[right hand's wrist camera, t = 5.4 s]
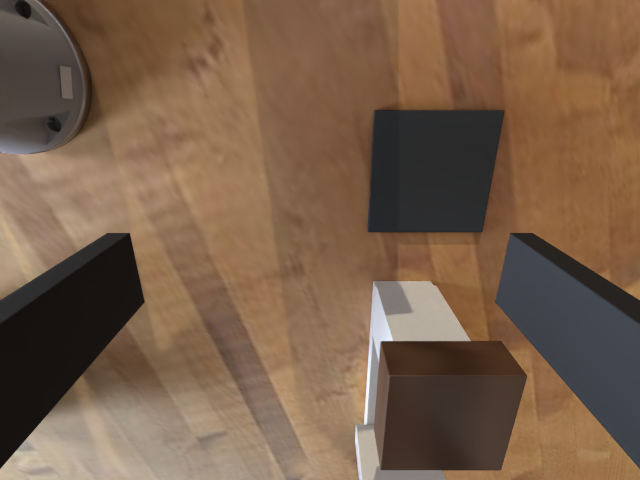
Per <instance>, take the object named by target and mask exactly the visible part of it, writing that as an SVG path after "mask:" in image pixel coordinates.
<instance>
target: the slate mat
mask: <svg viewBox="0 0 640 480" xmlns="http://www.w3.org/2000/svg"><path fill="white" fill-rule="evenodd" d="M503 116H504V111H374V127H373V146H372V164H371V182H370V201H369V219H368V232H482V230H483V225H484V219H485V214H486V208H487V203H488V197H489V192H490V187H491V181H492V176H493V170H494V165H495V159H496V154H497V148H498V143H499V138H500V132H501V127H502V121H503Z"/></svg>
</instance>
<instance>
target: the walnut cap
mask: <svg viewBox="0 0 640 480" xmlns="http://www.w3.org/2000/svg"><path fill="white" fill-rule="evenodd" d="M526 379H527V375H526V374H525V372H524V371H523V370H522V368H521V367H520V366H519V364H518V363H517V362H516V360H515V359H514V358H513V356H512V355H511V354H510V352H509V351H508V350H507V348H506V347H505V346H504V344H503V343H502V342H501V341H381V342H380V355H379V368H378V381H377V394H376V406H375V419H374V433H375V439H376V446H377V452H378V458H379V464H380V469H381V470H501V468H502V465H503V461H504V458H505V454H506V450H507V447H508V443H509V440H510V436H511V432H512V429H513V425H514V422H515V418H516V415H517V411H518V407H519V404H520V400H521V397H522V393H523V389H524V386H525V382H526Z"/></svg>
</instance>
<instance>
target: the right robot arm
mask: <svg viewBox="0 0 640 480" xmlns="http://www.w3.org/2000/svg"><path fill="white" fill-rule="evenodd" d="M90 102H91V81H90V75H89V70H88V67H87V63H86V60H85V57H84V55H83V52H82V50H81V48H80V46H79V44H78V42H77V40H76V38H75V37H74V35H73V34H72V32H71V30H70V29H69V28H68V26H67V25H66V24H65V22H64V21H63V20H62V19H61V18H60V16H59V15H58V14H57V13H56V12H55V11H54V10H53V9H52V8H51V7H50V6H49V5H47V4H46V3H45V2H44V1H43V0H0V152H2V153H9V154H34V153H40V152H45V151H50V150H53V149H56V148H59V147H61V146H63V145H64V144H66V143H68V142H69V141H70V140H72V139H73V138H74V137H75V136H76V135H77V133H78V132H79V131H80V129H81V128H82V126H83V125H84V123H85V120H86V118H87V115H88V112H89V108H90ZM143 303H144V297H143V293H142V288H141V283H140V279H139V274H138V270H137V265H136V260H135V256H134V251H133V246H132V242H131V237H130V233H107V234H105V235H104V236H102V237H100V238H99V239H97V240H96V241H94V242H93V243H91V244H89V245H88V246H86V247H85V248H83V249H81V250H80V251H78V252H77V253H75V254H73V255H72V256H70V257H69V258H67V259H65V260H64V261H62V262H61V263H59V264H58V265H56V266H54V267H53V268H51V269H50V270H48V271H46V272H45V273H43V274H42V275H40V276H38V277H37V278H35V279H34V280H32V281H31V282H29V283H27V284H26V285H24V286H23V287H21V288H19V289H18V290H16V291H15V292H13V293H11V294H10V295H8V296H7V297H5V298H3V299H2V300H0V468H1V467H2V466H3V465H4V464H5V463H6V462H7V460H8V459H9V458H10V457H11V456H12V455H13V453H14V452H15V451H16V450H17V449H18V448H19V447H20V445H21V444H22V443H23V442H24V441H25V440H26V438H27V437H28V436H29V435H30V434H31V433H32V431H33V430H34V429H35V428H36V427H37V426H38V425H39V423H40V422H41V421H42V420H43V419H44V418H45V416H46V415H47V414H48V413H49V412H50V411H51V410H52V408H53V407H54V406H55V405H56V404H57V403H58V401H59V400H60V399H61V398H62V397H63V396H64V395H65V393H66V392H67V391H68V390H69V389H70V388H71V386H72V385H73V384H74V383H75V382H76V381H77V380H78V378H79V377H80V376H81V375H82V374H83V373H84V371H85V370H86V369H87V368H88V367H89V366H90V364H91V363H92V362H93V361H94V360H95V359H96V358H97V356H98V355H99V354H100V353H101V352H102V351H103V349H104V348H105V347H106V346H107V345H108V344H109V343H110V341H111V340H112V339H113V338H114V337H115V336H116V334H117V333H118V332H119V331H120V330H121V329H122V328H123V326H124V325H125V324H126V323H127V322H128V321H129V319H130V318H131V317H132V316H133V315H134V314H135V313H136V311H137V310H138V309H139V308H140V307H141V306H142V304H143ZM496 303H497V304H498V306H499V307H500V308H501V309H502V310H503V311H504V313H505V314H506V315H507V316H508V317H509V318H510V319H511V321H512V322H513V323H514V324H515V325H516V326H517V328H518V329H519V330H520V331H521V332H522V333H523V334H524V336H525V337H526V338H527V339H528V340H529V341H530V343H531V344H532V345H533V346H534V347H535V348H536V349H537V351H538V352H539V353H540V354H541V355H542V356H543V358H544V359H545V360H546V361H547V362H548V363H549V364H550V366H551V367H552V368H553V369H554V370H555V371H556V373H557V374H558V375H559V376H560V377H561V378H562V380H563V381H564V382H565V383H566V384H567V385H568V386H569V388H570V389H571V390H572V391H573V392H574V393H575V395H576V396H577V397H578V398H579V399H580V400H581V401H582V403H583V404H584V405H585V406H586V407H587V408H588V410H589V411H590V412H591V413H592V414H593V415H594V416H595V418H596V419H597V420H598V421H599V422H600V423H601V425H602V426H603V427H604V428H605V429H606V430H607V431H608V433H609V434H610V435H611V436H612V437H613V438H614V440H615V441H616V442H617V443H618V444H619V445H620V447H621V448H622V449H623V450H624V451H625V452H626V453H627V455H628V456H629V457H630V458H631V459H632V460H633V462H634V463H635V464H636V465H637V466H638V467H639V468H640V300H638V299H637V298H635V297H633V296H632V295H630V294H629V293H627V292H625V291H624V290H622V289H621V288H619V287H617V286H616V285H614V284H613V283H611V282H609V281H608V280H606V279H605V278H603V277H602V276H600V275H598V274H597V273H595V272H594V271H592V270H590V269H589V268H587V267H586V266H584V265H582V264H581V263H579V262H578V261H576V260H575V259H573V258H571V257H570V256H568V255H567V254H565V253H563V252H562V251H560V250H559V249H557V248H555V247H554V246H552V245H551V244H549V243H547V242H546V241H544V240H543V239H541V238H540V237H538V236H536V235H535V234H533V233H510V237H509V242H508V246H507V251H506V256H505V260H504V265H503V269H502V274H501V279H500V283H499V288H498V293H497V297H496Z"/></svg>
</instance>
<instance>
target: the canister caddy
mask: <svg viewBox="0 0 640 480" xmlns="http://www.w3.org/2000/svg"><path fill="white" fill-rule="evenodd" d="M381 341H471V340H470V339H469V337H468V336H467V334H466V332H465V331H464V329H463V328H462V326H461V324H460V323H459V321H458V320H457V318H456V316H455V315H454V313H453V312H452V310H451V308H450V307H449V305H448V304H447V302H446V300H445V299H444V297H443V296H442V294H441V292H440V291H439V289H438V288H437V286H433V284H432V283H431V281H373V295H372V311H371V326H370V342H369V358H368V373H367V389H366V405H365V420H364V425H356V433H355V443H356V453H357V463H358V473H359V480H446V479H445V476H444V473H443V470H381V469H380V464H379V458H378V452H377V446H376V439H375V433H374V419H375V406H376V394H377V381H378V368H379V355H380V342H381Z"/></svg>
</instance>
